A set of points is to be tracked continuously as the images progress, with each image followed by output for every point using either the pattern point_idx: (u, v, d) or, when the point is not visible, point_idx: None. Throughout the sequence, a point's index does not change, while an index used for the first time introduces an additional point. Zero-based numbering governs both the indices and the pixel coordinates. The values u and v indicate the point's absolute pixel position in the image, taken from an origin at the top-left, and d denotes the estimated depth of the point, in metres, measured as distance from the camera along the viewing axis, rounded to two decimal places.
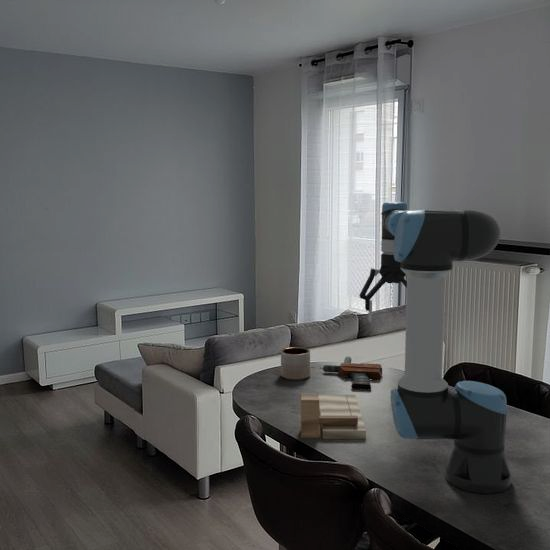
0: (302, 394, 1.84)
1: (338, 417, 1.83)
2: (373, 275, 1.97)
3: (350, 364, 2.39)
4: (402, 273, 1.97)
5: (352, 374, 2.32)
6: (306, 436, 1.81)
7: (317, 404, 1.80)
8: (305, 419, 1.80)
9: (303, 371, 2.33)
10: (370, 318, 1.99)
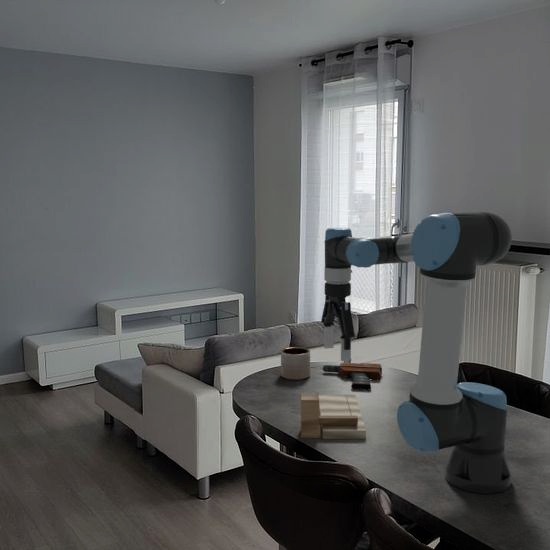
0: (302, 394, 1.84)
1: (338, 417, 1.83)
2: (326, 301, 1.91)
3: (350, 364, 2.39)
4: (337, 305, 1.82)
5: (352, 374, 2.32)
6: (306, 436, 1.81)
7: (317, 404, 1.80)
8: (305, 419, 1.80)
9: (303, 371, 2.33)
10: (324, 344, 1.94)
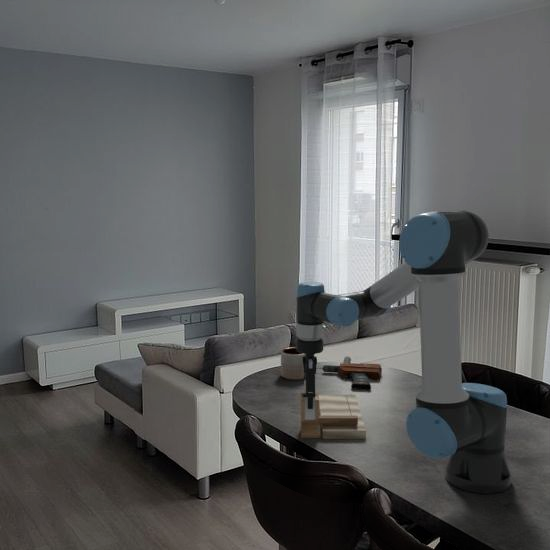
0: (302, 394, 1.84)
1: (338, 417, 1.83)
2: None
3: (350, 364, 2.39)
4: (306, 361, 1.78)
5: (352, 374, 2.32)
6: (306, 436, 1.81)
7: (317, 404, 1.80)
8: None
9: (303, 371, 2.33)
10: None
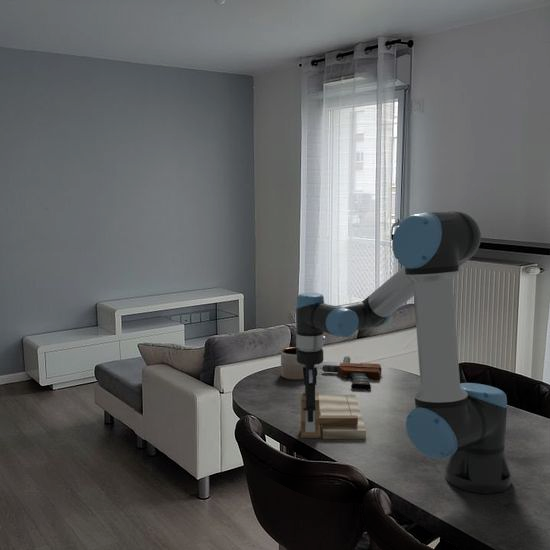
0: (302, 394, 1.84)
1: (338, 417, 1.83)
2: None
3: (349, 364, 2.39)
4: (306, 371, 1.79)
5: (352, 374, 2.32)
6: (306, 436, 1.81)
7: (317, 404, 1.80)
8: None
9: None
10: None
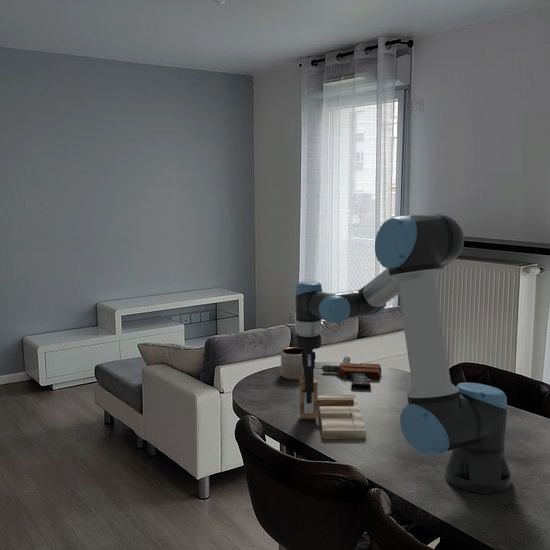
0: (301, 377, 1.94)
1: (335, 399, 1.93)
2: None
3: (349, 364, 2.39)
4: (305, 355, 1.89)
5: (351, 374, 2.32)
6: (305, 417, 1.91)
7: (316, 386, 1.90)
8: None
9: (303, 371, 2.33)
10: None
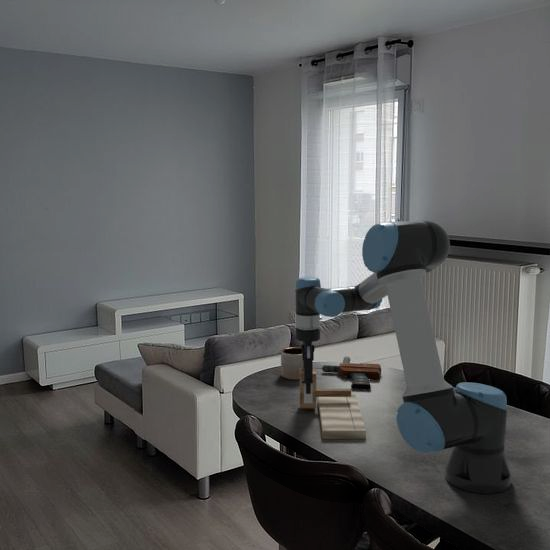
0: (301, 369, 2.03)
1: (333, 390, 2.02)
2: None
3: (349, 364, 2.39)
4: (304, 348, 1.98)
5: (351, 374, 2.32)
6: (304, 407, 2.00)
7: (315, 378, 1.98)
8: (303, 391, 1.99)
9: None
10: None
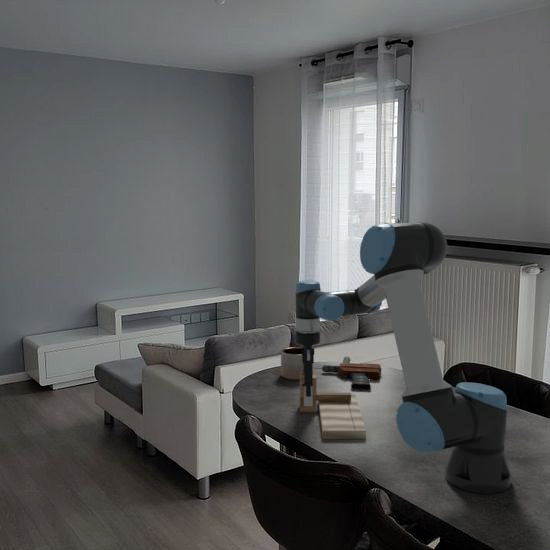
0: (301, 373, 2.04)
1: (333, 394, 2.03)
2: None
3: (349, 364, 2.39)
4: (304, 351, 1.99)
5: (351, 374, 2.32)
6: (304, 411, 2.01)
7: (315, 382, 1.99)
8: (303, 395, 2.00)
9: None
10: None
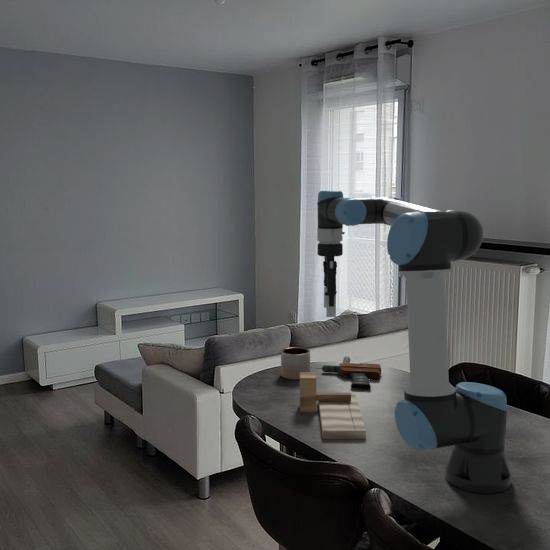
0: (301, 373, 2.04)
1: (333, 394, 2.03)
2: None
3: (349, 364, 2.39)
4: (326, 264, 1.91)
5: (351, 374, 2.32)
6: (304, 411, 2.01)
7: (315, 382, 1.99)
8: (303, 395, 2.00)
9: (303, 371, 2.33)
10: (324, 304, 2.03)
